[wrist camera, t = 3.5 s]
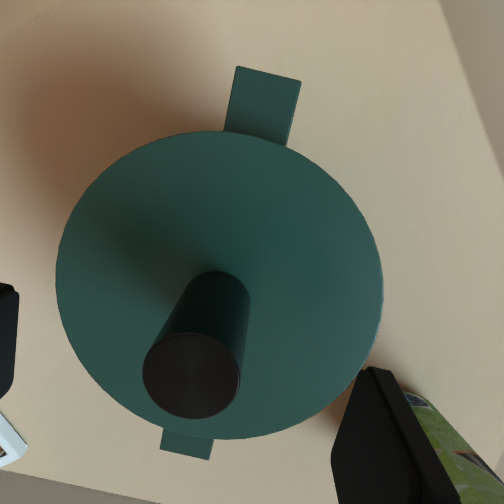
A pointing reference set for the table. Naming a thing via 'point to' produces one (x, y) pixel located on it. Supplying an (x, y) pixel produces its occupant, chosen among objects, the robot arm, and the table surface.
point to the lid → (219, 285)
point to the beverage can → (457, 456)
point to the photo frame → (10, 443)
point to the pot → (261, 125)
